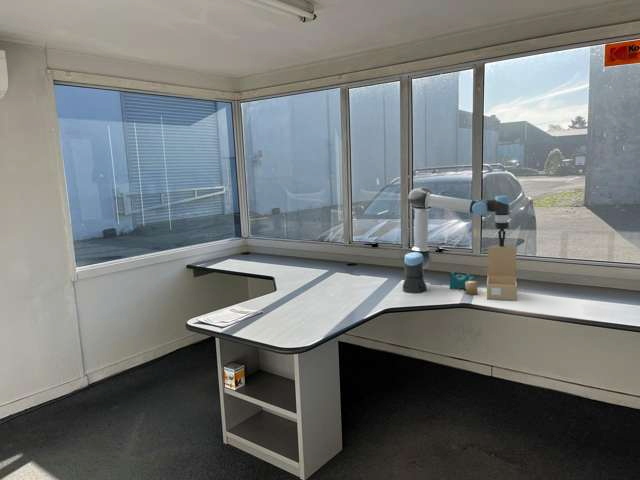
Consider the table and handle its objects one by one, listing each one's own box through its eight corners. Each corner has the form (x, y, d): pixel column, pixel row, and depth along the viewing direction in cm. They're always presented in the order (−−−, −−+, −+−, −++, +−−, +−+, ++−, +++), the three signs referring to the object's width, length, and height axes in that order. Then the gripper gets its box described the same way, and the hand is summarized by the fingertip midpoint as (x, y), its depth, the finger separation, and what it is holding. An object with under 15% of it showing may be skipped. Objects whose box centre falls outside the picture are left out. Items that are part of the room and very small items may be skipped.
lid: (487, 246, 270) (487, 246, 271) (487, 275, 279) (487, 274, 280) (516, 247, 265) (516, 246, 265) (515, 276, 273) (515, 275, 274)
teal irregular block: (467, 291, 282) (468, 275, 280) (449, 288, 288) (451, 272, 285) (472, 284, 298) (474, 268, 296) (456, 281, 303) (457, 266, 301)
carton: (486, 299, 262) (486, 284, 261) (487, 289, 280) (487, 275, 279) (516, 300, 256) (517, 285, 255) (515, 291, 275) (515, 276, 273)
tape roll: (466, 295, 273) (465, 283, 272) (465, 291, 280) (464, 280, 279) (478, 294, 271) (477, 283, 270) (476, 291, 278) (476, 280, 277)
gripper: (509, 223, 262) (508, 262, 266) (508, 220, 274) (507, 258, 278) (495, 223, 265) (494, 262, 269) (495, 220, 277) (494, 257, 281)
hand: (501, 260), depth 273 cm, fingers closed
